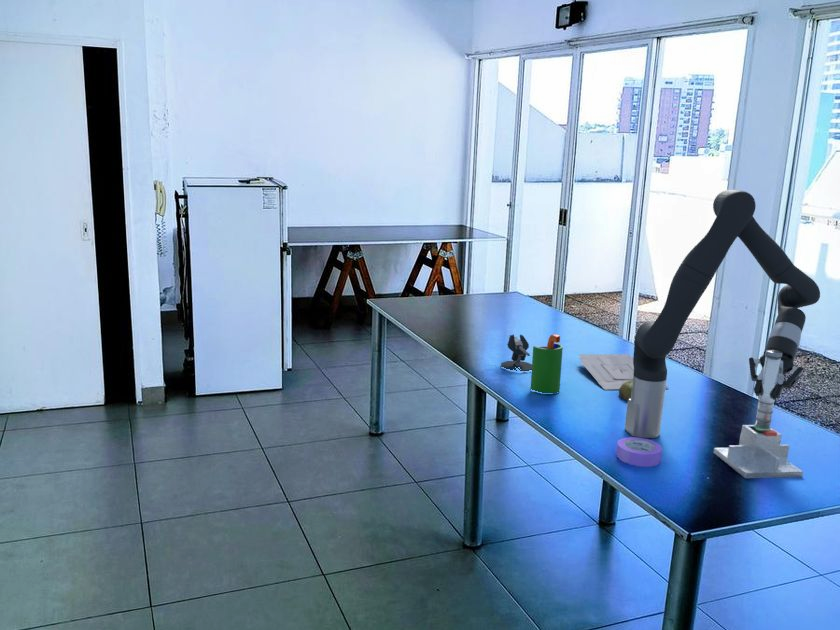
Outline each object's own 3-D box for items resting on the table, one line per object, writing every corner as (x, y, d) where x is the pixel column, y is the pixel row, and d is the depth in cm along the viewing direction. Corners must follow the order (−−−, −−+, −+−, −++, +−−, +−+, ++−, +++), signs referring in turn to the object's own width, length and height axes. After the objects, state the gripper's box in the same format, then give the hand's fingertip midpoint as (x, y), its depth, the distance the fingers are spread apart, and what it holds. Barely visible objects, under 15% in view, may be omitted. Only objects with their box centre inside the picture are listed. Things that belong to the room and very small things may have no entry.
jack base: (744, 479, 195) (750, 439, 192) (710, 452, 211) (716, 415, 208) (805, 477, 197) (811, 438, 194) (767, 450, 213) (773, 414, 211)
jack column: (758, 438, 200) (771, 354, 194) (749, 432, 204) (762, 349, 198) (772, 438, 200) (785, 354, 195) (763, 432, 204) (776, 349, 199)
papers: (632, 360, 292) (634, 352, 291) (668, 395, 264) (670, 386, 263) (572, 361, 288) (573, 352, 287) (602, 396, 260) (604, 387, 259)
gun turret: (512, 379, 267) (515, 344, 264) (495, 362, 286) (497, 329, 283) (546, 378, 270) (549, 343, 267) (526, 362, 288) (529, 329, 285)
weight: (652, 392, 260) (654, 378, 259) (666, 405, 247) (667, 391, 246) (613, 391, 260) (615, 377, 259) (625, 404, 247) (626, 390, 246)
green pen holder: (542, 383, 263) (546, 328, 259) (564, 390, 258) (570, 333, 253) (526, 390, 256) (531, 333, 251) (549, 397, 250) (554, 338, 246)
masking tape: (607, 456, 205) (609, 443, 204) (630, 446, 213) (631, 433, 212) (646, 471, 197) (648, 457, 196) (668, 459, 205) (670, 446, 204)
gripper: (754, 330, 206) (736, 383, 199) (811, 340, 198) (794, 395, 191) (756, 345, 211) (738, 397, 205) (812, 355, 203) (795, 410, 196)
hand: (765, 396), depth 198 cm, fingers closed on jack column, 3 cm apart
